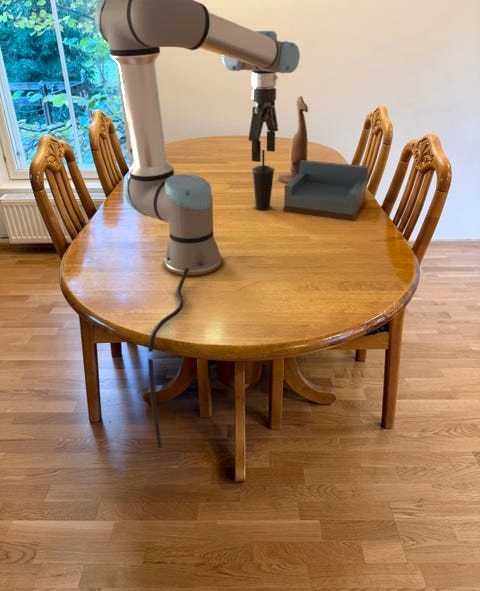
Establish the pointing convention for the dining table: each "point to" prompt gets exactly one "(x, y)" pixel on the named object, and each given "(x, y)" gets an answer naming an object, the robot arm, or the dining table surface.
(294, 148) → the bird sculpture
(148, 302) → the dining table surface
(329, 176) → the sofa
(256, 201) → the drinking cup
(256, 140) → the robot arm
